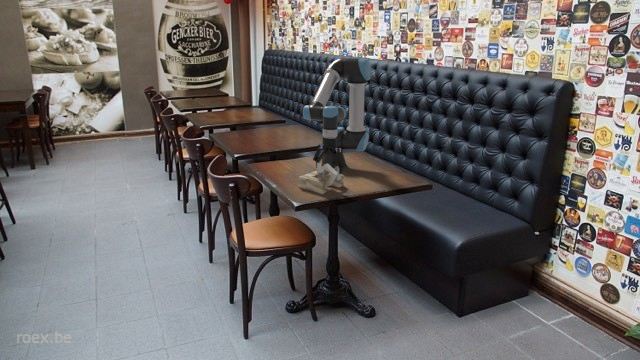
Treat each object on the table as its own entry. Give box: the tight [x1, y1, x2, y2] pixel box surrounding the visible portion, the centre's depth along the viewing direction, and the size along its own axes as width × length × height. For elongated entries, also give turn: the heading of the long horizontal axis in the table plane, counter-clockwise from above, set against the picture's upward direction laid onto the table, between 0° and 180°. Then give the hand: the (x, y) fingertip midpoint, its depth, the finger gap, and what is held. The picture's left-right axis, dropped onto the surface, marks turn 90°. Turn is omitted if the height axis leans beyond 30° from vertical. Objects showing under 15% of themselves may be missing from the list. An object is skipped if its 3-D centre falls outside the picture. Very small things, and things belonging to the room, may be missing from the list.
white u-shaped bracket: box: [320, 163, 337, 187], centre depth 249 cm, size 3×8×8 cm
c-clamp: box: [298, 166, 345, 195], centre depth 252 cm, size 18×16×10 cm
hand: (328, 177), depth 249 cm, fingers open, 13 cm apart
